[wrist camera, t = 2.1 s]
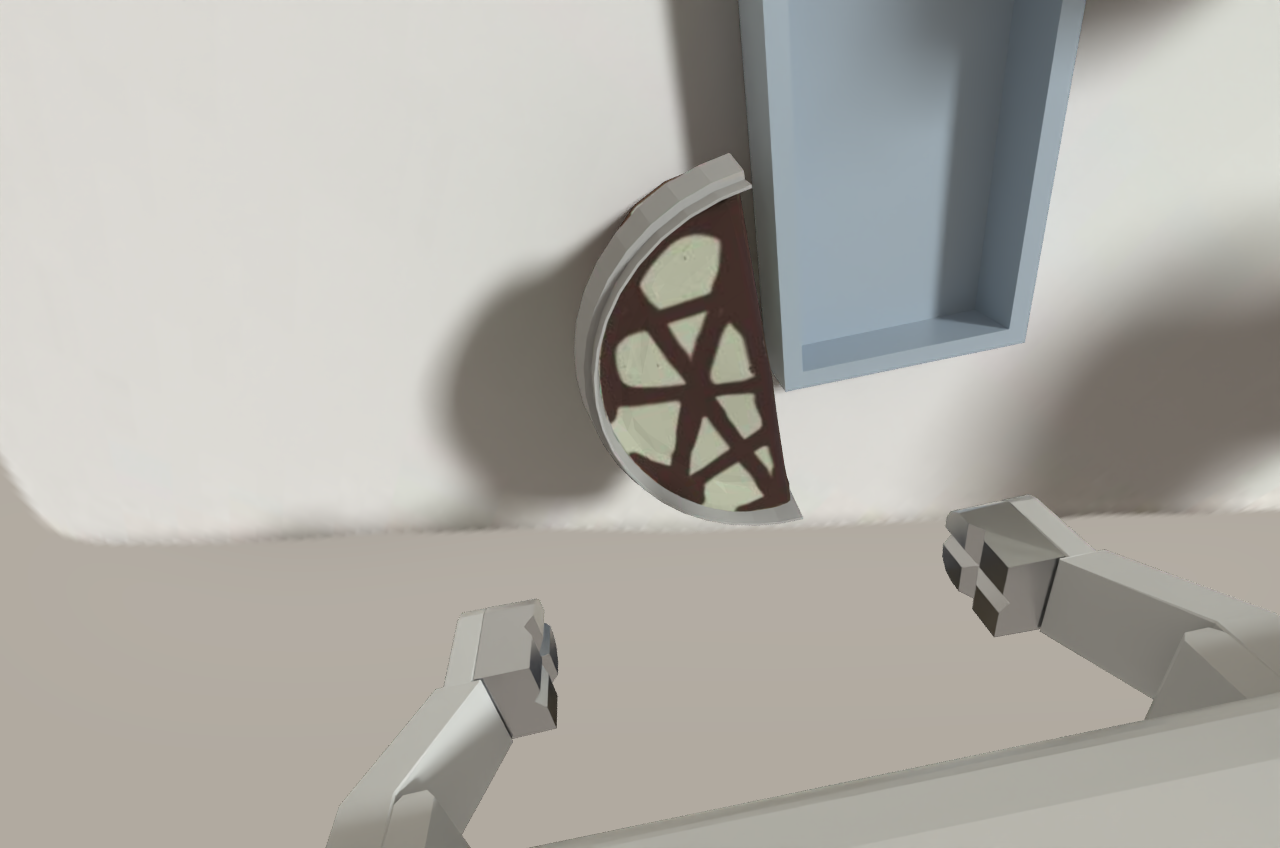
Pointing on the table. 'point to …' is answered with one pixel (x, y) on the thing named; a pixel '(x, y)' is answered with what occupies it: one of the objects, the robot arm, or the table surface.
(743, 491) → the food container
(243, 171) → the table surface
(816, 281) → the holder tray
